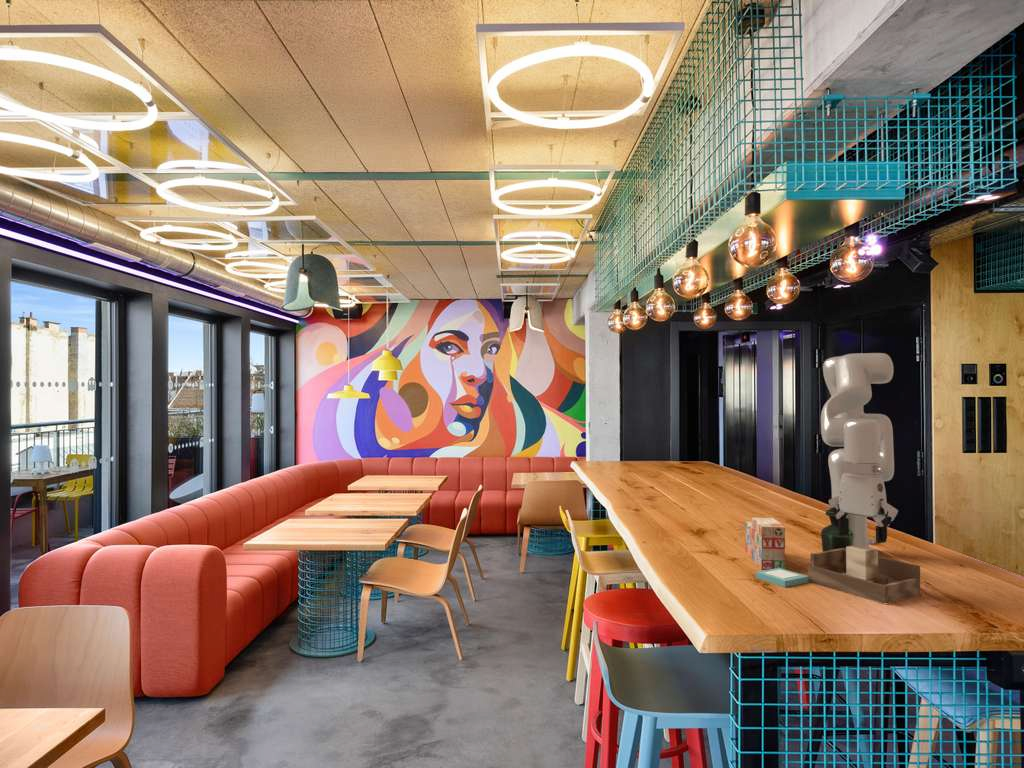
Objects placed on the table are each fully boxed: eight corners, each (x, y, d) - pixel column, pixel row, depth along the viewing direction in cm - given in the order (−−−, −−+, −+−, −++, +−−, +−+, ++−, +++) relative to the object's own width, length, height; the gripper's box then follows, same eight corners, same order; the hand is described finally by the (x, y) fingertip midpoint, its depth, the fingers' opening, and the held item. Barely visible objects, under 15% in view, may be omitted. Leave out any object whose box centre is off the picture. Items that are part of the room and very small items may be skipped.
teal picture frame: (778, 573, 169) (778, 567, 169) (808, 582, 161) (808, 575, 161) (755, 577, 165) (755, 571, 165) (784, 587, 157) (784, 580, 157)
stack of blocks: (744, 551, 194) (744, 511, 194) (766, 552, 193) (766, 512, 193) (761, 570, 172) (761, 525, 173) (785, 571, 172) (785, 526, 172)
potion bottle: (815, 563, 179) (815, 500, 180) (843, 563, 179) (843, 500, 180) (830, 571, 171) (829, 505, 172) (859, 571, 171) (859, 505, 172)
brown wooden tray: (842, 574, 169) (842, 548, 169) (920, 595, 151) (920, 565, 151) (808, 581, 162) (807, 554, 162) (885, 604, 144) (885, 573, 144)
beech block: (858, 572, 160) (858, 544, 160) (878, 577, 155) (877, 548, 156) (846, 574, 157) (846, 546, 158) (865, 579, 153) (865, 551, 153)
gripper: (905, 472, 151) (906, 544, 151) (838, 465, 166) (839, 530, 166) (886, 474, 148) (887, 547, 147) (820, 466, 163) (820, 533, 162)
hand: (861, 538), depth 157 cm, fingers open, 9 cm apart
